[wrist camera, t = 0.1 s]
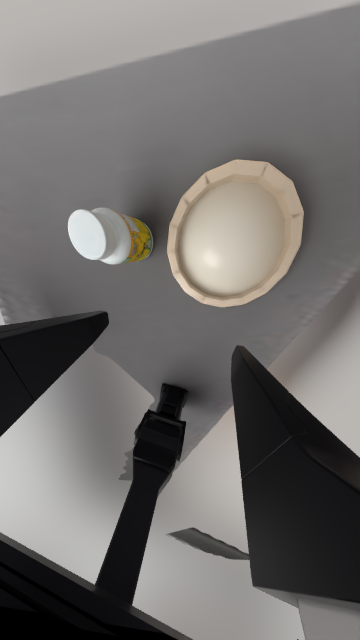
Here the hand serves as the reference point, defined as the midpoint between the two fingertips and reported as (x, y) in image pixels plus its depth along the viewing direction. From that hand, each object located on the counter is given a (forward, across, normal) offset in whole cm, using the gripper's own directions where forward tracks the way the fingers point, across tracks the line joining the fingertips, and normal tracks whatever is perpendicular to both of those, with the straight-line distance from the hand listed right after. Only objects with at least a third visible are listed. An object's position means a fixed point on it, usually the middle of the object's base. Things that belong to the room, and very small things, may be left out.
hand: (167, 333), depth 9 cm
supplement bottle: (+15, +10, -5) cm, 18 cm away
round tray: (+15, -3, -6) cm, 16 cm away
